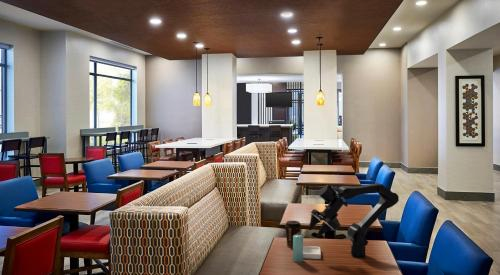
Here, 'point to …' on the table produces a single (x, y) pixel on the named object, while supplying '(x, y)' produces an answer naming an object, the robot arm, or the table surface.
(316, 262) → the table surface
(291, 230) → the coffee cup
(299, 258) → the teal cylinder
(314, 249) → the tray
